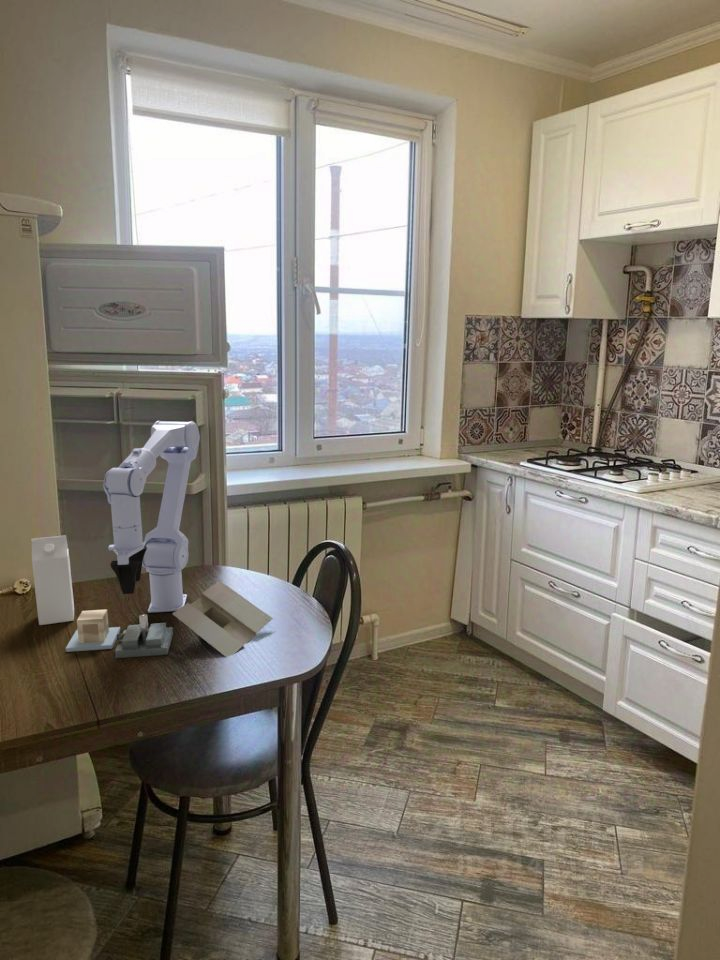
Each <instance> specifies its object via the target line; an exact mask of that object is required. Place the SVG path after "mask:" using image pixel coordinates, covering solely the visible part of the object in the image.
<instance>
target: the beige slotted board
mask: <svg viewBox="0 0 720 960" xmlns="http://www.w3.org/2000/svg"><path fill="white" fill-rule="evenodd" d="M172 615H173V616H174V617H176V618H177V619H178V620H179V621H180V622H182V623H183V624H184V626H185V625H186V626H187V627H188V629H190V630H191V631H192V632H194V633H195V634H197V636H199V637H200V638H201V639H203V640H204V641H206V643H208V644H209V645H210V646H211V647H213V648H214V649H215V650H217V651H218V652H219V653H221V655H223V656H224V657H225V658H228V657H231V656H234V655H235V654H236V653H237V652H238V651H239V650H240V649H241V648H243V647H244V646H245V645H246V644H247V643H248V642H249V641H251V640H252V639H253V638H254V637H255V636H256V635H257V634H258V633H259V632H260V631H261V630H262V629H264V627H266V626H267V625H268V624H269V623H270V622H271V621H272V620H273V617H272V616H271V615H269V614H267V612H264V610H262V609H260V608H259V607H257V606H256V605H255V604H253V603H252V602H250V601H249V600H248V599H246V598H245V597H244V596H242V595H241V594H239V593H238V592H236V591H235V590H233V588H230V586H228V585H226V583H224V582H222V581H220V580H219V581H217V582H215V583H214V584H213V585H211V586H210V587H208V588H207V589H206V590H205V591H203V592H201V595H200V596H199V598H197V599H196V600H195V601H193V602H191V603H189V602H187V603H185V605H184V606H183V607H181V608H179V609H178V610H177V611H173V612H172Z"/></svg>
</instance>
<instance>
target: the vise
mask: <svg viewBox="0 0 720 960" xmlns="http://www.w3.org/2000/svg"><path fill="white" fill-rule="evenodd" d="M138 618H139V624H128V625H127V629H124V630H123V632H122V633H119V634H117V639H116V641H118V643H117V645H116V648H115V650H114V654H115V659H121V658H122V659H123V658H135V657H149V656H150V657H151V656H164V655H168V653H169V650H170V646H171V643H172V639H173V636H174V628H173V626H169V627H167V622H160V623H159V622H156V623H150V626H149V622H148V621H149V620H148V614H145V613H144V614H140V615H138Z"/></svg>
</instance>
